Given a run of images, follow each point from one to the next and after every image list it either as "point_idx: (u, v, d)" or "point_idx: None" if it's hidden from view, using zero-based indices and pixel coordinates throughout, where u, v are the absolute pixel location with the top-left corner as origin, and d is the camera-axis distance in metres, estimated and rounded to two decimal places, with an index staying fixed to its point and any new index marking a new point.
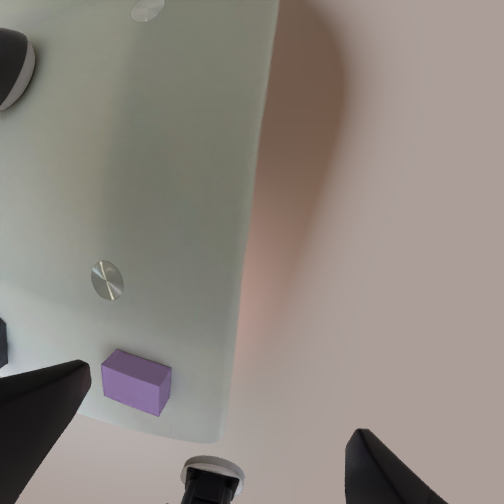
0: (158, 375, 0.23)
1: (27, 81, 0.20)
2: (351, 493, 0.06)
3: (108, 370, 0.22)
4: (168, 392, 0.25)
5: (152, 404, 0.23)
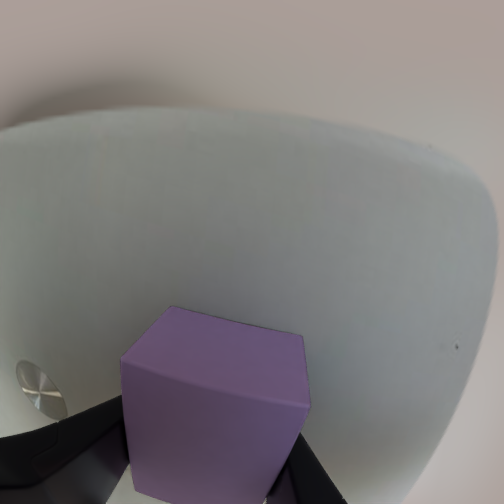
0: None
1: None
2: None
3: (141, 483, 0.06)
4: (262, 335, 0.08)
5: (233, 414, 0.05)
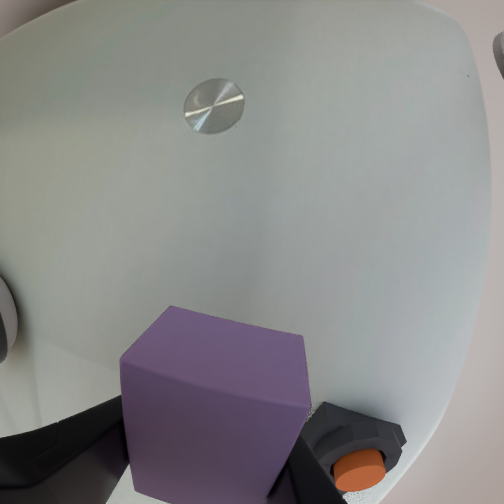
0: None
1: None
2: None
3: (141, 484, 0.06)
4: (262, 335, 0.08)
5: (233, 415, 0.05)
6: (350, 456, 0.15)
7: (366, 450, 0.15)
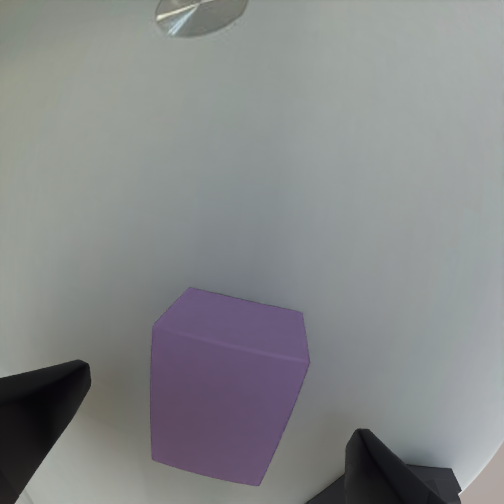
0: None
1: None
2: (351, 493, 0.06)
3: (159, 450, 0.08)
4: (268, 310, 0.09)
5: (246, 370, 0.07)
6: None
7: None
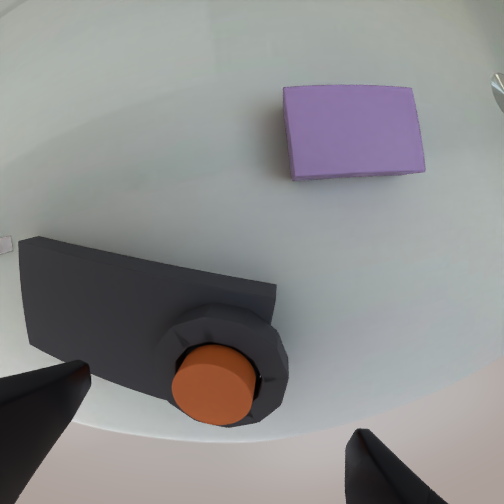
0: None
1: None
2: (351, 493, 0.06)
3: (304, 92, 0.11)
4: None
5: (410, 138, 0.11)
6: (241, 359, 0.12)
7: (254, 375, 0.13)
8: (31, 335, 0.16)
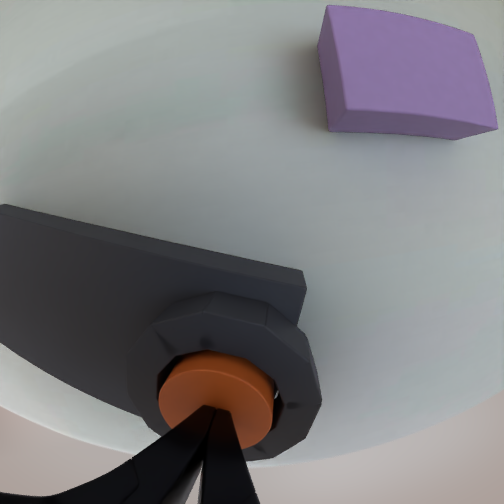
0: None
1: None
2: None
3: (353, 12, 0.06)
4: None
5: (480, 87, 0.06)
6: None
7: (273, 386, 0.09)
8: None
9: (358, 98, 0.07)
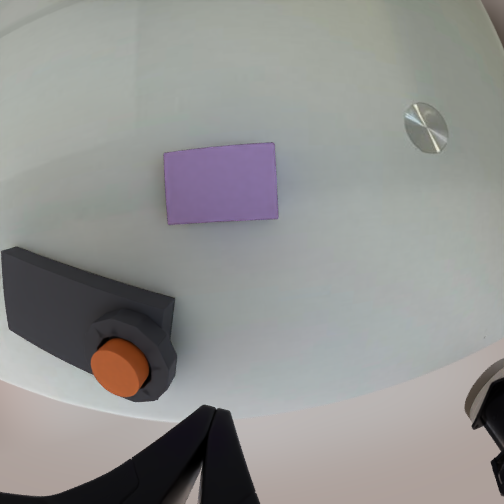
0: None
1: None
2: None
3: (177, 156, 0.15)
4: None
5: (264, 190, 0.15)
6: (135, 351, 0.16)
7: (146, 364, 0.17)
8: (10, 322, 0.20)
9: (174, 217, 0.15)
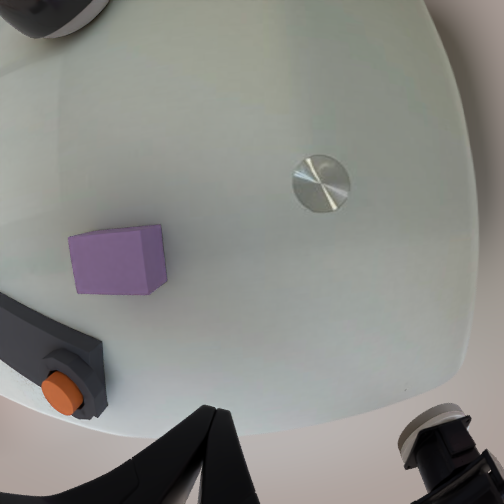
0: (141, 228, 0.18)
1: None
2: None
3: (76, 241, 0.17)
4: (162, 266, 0.19)
5: (136, 272, 0.17)
6: (70, 382, 0.18)
7: (79, 392, 0.19)
8: None
9: (80, 288, 0.17)
